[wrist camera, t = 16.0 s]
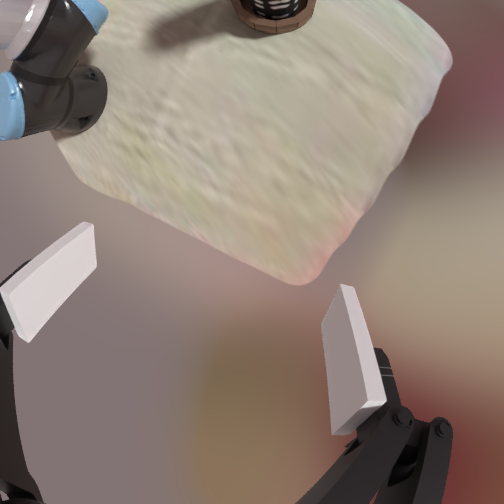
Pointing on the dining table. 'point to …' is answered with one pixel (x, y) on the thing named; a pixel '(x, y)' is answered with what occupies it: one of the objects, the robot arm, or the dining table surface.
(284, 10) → the white-spotted black cylinder
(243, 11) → the holder
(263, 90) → the dining table surface
